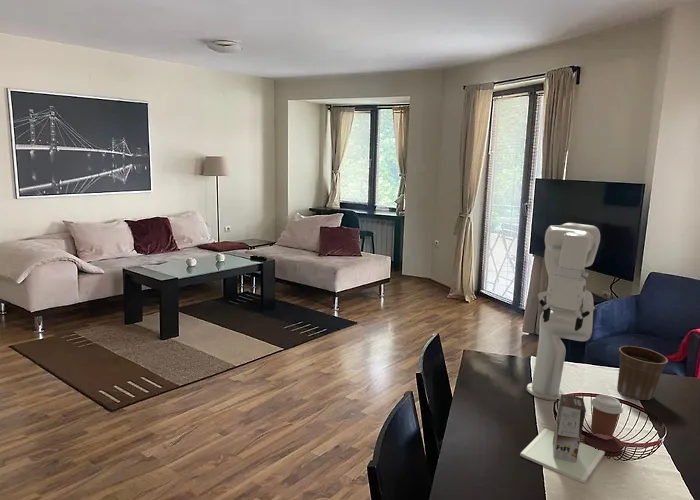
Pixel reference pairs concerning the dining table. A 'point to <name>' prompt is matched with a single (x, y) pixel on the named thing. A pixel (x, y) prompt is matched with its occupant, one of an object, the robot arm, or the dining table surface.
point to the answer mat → (543, 455)
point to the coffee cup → (605, 414)
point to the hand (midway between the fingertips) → (561, 325)
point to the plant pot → (639, 372)
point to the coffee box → (568, 427)
